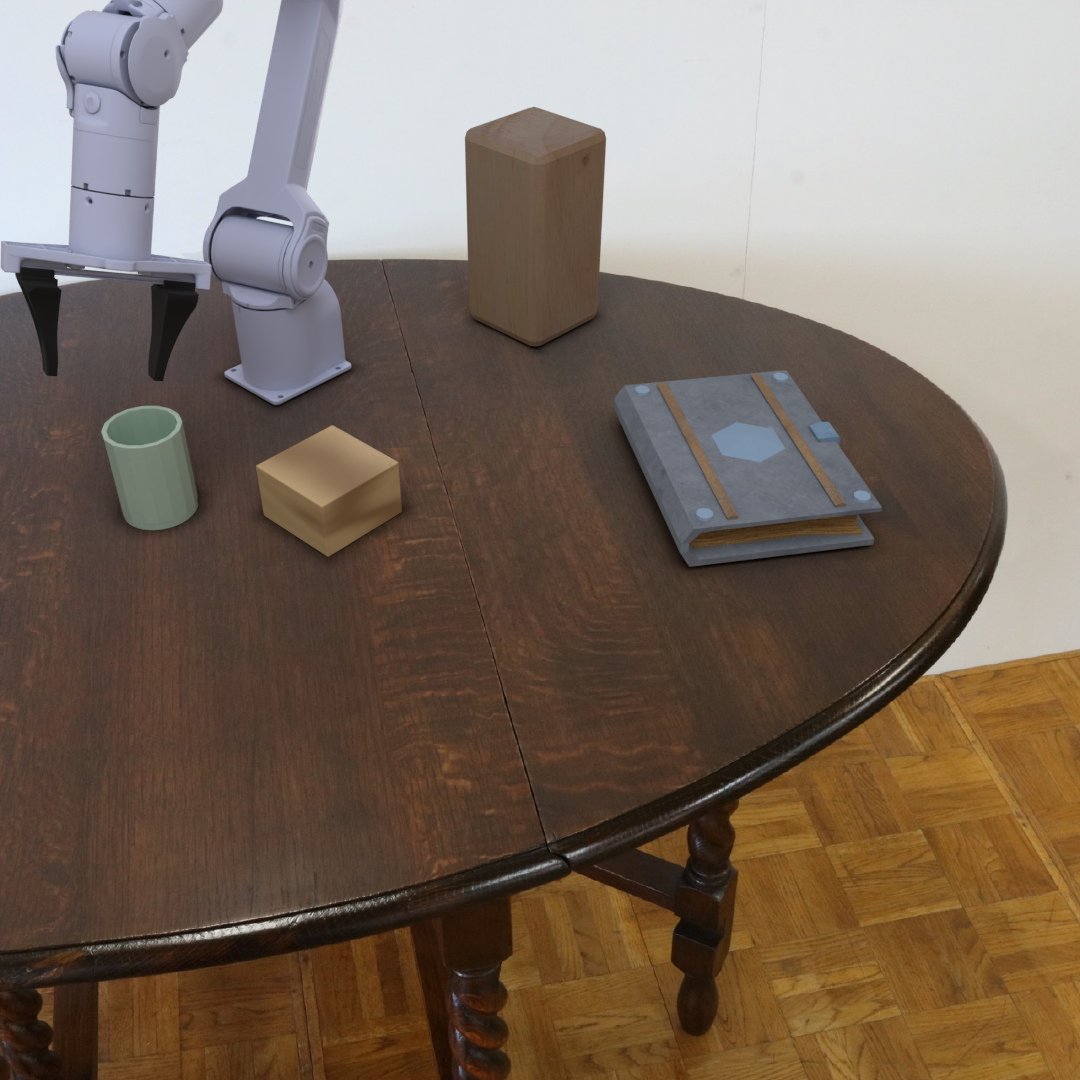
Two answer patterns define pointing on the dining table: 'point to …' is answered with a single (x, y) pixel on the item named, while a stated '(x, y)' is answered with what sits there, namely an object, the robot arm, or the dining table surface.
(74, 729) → the dining table surface
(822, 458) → the book
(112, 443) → the cup
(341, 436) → the block
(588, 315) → the wooden block
